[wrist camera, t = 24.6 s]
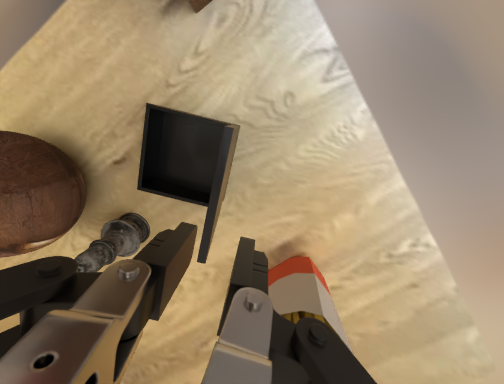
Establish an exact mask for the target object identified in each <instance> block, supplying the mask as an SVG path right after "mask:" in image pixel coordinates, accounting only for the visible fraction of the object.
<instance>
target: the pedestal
mask: <svg viewBox="0 0 504 384" xmlns="http://www.w3.org/2000/svg"><path fill="white" fill-rule="evenodd" d="M211 1H212V0H189V2H190V4H191V5H192V7H193V9H194V10H195V12H196V13H197V12H198V11H200V10H201V9H202V8H203V7H205V6H206V5H207V4H208V3H209V2H211Z"/></svg>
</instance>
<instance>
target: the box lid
mask: <svg viewBox="0 0 504 384" xmlns="http://www.w3.org/2000/svg"><path fill="white" fill-rule="evenodd" d="M237 132H238V126H236V125H228V126H224V129H223V134H222V139H221V144H220V149H219V154H218V159H217V164H216V169H215V174H214V179H213V184H212V189H211V194H210V199H209V204H208V209H207V214H206V219H205V224H204V229H203V234H202V239H201V244H200V249H199V254H198V259H197V262H199V263H206V259H207V256H208V252H209V249H210V245H211V242H212V238H213V235H214V231H215V228H216V224H217V221H218V217H219V214H220V210H221V205H222V201H223V196H224V192H225V187H226V182H227V178H228V173H229V169H230V164H231V159H232V155H233V150H234V145H235V141H236V136H237Z"/></svg>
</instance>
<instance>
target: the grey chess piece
mask: <svg viewBox="0 0 504 384" xmlns="http://www.w3.org/2000/svg"><path fill="white" fill-rule="evenodd" d="M149 234H150V228H149V225H148V223H147V221H146V220H145V219H144V218H143V217H141V216H140V215H138V214H134V213H128V214H125V215H123V216H122V217H121V218H120V219H119V220H112V221H110V222H108V223H106V224H105V225H104V226H103V228H102V230H101V239H100V240H95V241H93V242H92V243H91V244H90V246H89V248H88V249H87V250H85V251H84V252H82V253H81V254H79V255H78V256H77V257H76V258H75V259H74V260H75V261H76V262H77V263H78V272H97V271H99V270H100V269H101V268H102V267H103V266H104V265H108V264H111V263H112V262H114V261H115V259H116V256H121V257H127V256H131V255H133V254H134V253H135V252H137V250H138V249H139V247H140V243H142V242H144V241H145V240H146V239H147V238H148V237H149Z"/></svg>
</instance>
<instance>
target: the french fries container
mask: <svg viewBox="0 0 504 384" xmlns="http://www.w3.org/2000/svg"><path fill="white" fill-rule="evenodd" d="M268 293H269V298H270V299H271V301H272V303H273V309H274V310H275V311H276V312H277V313H278V314H280V315H281V316H282V317H284V318H286V319H288V320H290V321H292V322H294V323H295V324H296V323H297V321H298V320H299V319H301V318H304V317H312V318H316V319H318V320H320V321H322V322H324V323H325V324H327V325H328V326H329V327H330V328H331V329H332V330H333V331H334V332H335V333H336V334H337V336H338V337H339V338H340V339H341V340H342V342H343V343H344V344H345V345H346V347H347V348H348V349H349V350H350V351H351V353H352V354H353V351H352V349H351V346H350V344H349V341H348V338H347V336H346V333H345V331H344V328H343V326H342V323H341V321H340V318H339V315H338V313H337V310H336V308H335V305H334V303H333V300H332V297H331V295H330V292H329V290H328V287H327V285H326V282H325V279H324V277H323V276H322V274H321V273H320V272H319V270H318V269H317V267H316V266H315V265H314V263H313V262H312V261H311V259H310V258H309V257H291V258H290V259H288V260H286V261H284V262H283V263H281V264H279V265H278V266H276V267H274V268H272V269H271V270H269V271H268ZM353 355H354V354H353Z"/></svg>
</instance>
